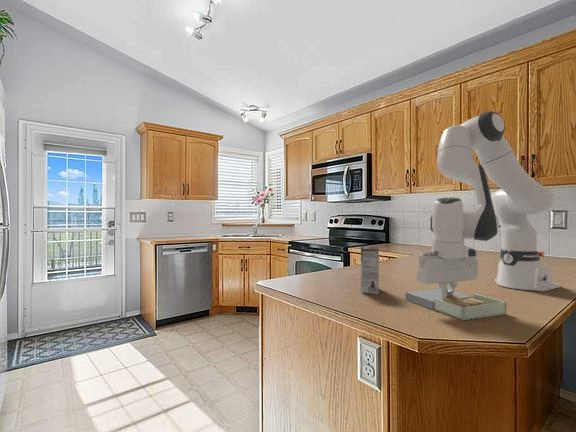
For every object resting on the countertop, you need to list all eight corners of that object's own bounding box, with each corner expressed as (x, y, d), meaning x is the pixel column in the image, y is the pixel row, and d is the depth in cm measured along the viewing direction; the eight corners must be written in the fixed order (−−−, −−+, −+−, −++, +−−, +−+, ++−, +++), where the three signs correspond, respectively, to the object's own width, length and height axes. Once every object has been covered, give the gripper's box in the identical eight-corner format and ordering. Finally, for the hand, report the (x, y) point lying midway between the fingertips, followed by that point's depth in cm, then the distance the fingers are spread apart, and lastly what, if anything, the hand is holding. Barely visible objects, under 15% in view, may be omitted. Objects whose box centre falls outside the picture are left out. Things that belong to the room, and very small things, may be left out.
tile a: (470, 304, 100) (470, 298, 100) (485, 308, 95) (485, 302, 95) (459, 306, 98) (459, 299, 98) (474, 311, 94) (474, 304, 94)
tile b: (454, 301, 98) (456, 295, 98) (467, 310, 94) (469, 305, 93) (441, 302, 97) (443, 297, 96) (454, 312, 92) (455, 306, 91)
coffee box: (360, 287, 126) (360, 246, 125) (377, 287, 124) (377, 246, 124) (361, 293, 117) (361, 248, 116) (379, 293, 115) (379, 249, 115)
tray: (474, 304, 102) (474, 293, 102) (506, 314, 92) (506, 302, 92) (434, 310, 96) (434, 298, 96) (463, 320, 87) (463, 308, 87)
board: (442, 295, 113) (442, 288, 113) (472, 304, 102) (472, 296, 102) (405, 299, 108) (405, 292, 108) (432, 309, 96) (432, 301, 96)
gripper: (427, 253, 91) (427, 302, 92) (482, 250, 98) (482, 296, 98) (412, 251, 97) (412, 296, 98) (465, 248, 104) (465, 291, 104)
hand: (447, 296), depth 98 cm, fingers closed, pressing on tile b
